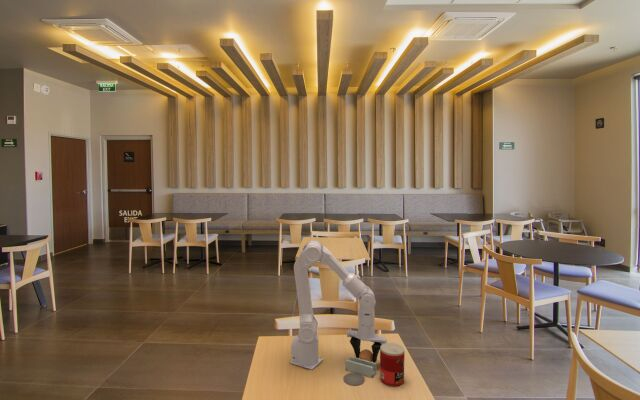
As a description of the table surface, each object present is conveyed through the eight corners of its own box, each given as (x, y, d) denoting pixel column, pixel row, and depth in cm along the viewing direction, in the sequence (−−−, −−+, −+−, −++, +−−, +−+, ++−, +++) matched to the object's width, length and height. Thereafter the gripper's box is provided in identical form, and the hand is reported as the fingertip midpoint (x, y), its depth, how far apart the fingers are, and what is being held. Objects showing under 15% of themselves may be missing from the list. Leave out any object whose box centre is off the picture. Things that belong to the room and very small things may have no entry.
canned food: (399, 389, 120) (399, 356, 119) (376, 381, 124) (376, 349, 123) (407, 377, 126) (407, 346, 125) (384, 371, 131) (385, 340, 130)
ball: (356, 364, 135) (357, 351, 134) (362, 358, 139) (362, 345, 139) (370, 368, 132) (370, 354, 132) (375, 362, 137) (375, 348, 136)
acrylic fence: (345, 369, 131) (345, 360, 131) (349, 365, 134) (349, 356, 134) (372, 377, 126) (372, 367, 126) (376, 373, 129) (376, 363, 129)
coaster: (339, 381, 124) (339, 381, 124) (349, 371, 130) (349, 370, 130) (359, 387, 121) (359, 387, 121) (367, 377, 127) (367, 376, 127)
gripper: (389, 323, 134) (389, 359, 135) (352, 315, 141) (352, 350, 143) (382, 330, 128) (382, 368, 129) (344, 322, 135) (344, 358, 136)
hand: (366, 359), depth 135 cm, fingers open, 6 cm apart
